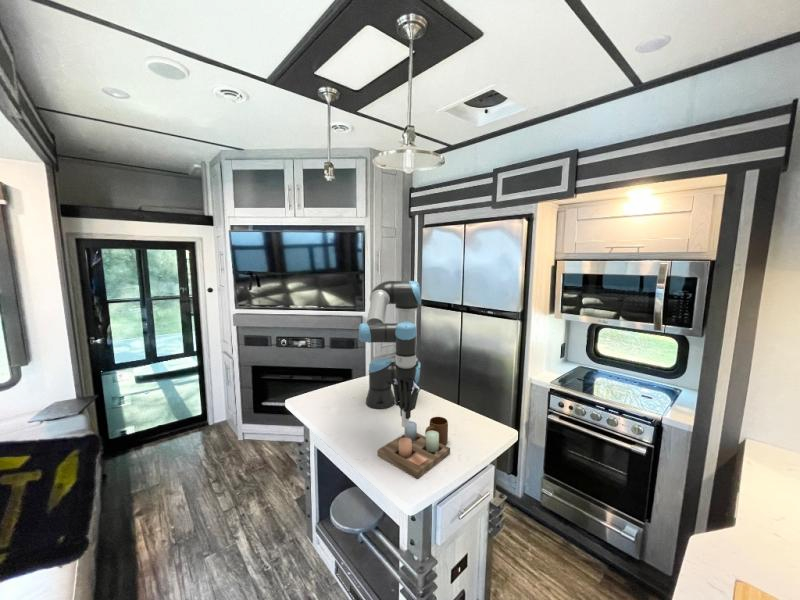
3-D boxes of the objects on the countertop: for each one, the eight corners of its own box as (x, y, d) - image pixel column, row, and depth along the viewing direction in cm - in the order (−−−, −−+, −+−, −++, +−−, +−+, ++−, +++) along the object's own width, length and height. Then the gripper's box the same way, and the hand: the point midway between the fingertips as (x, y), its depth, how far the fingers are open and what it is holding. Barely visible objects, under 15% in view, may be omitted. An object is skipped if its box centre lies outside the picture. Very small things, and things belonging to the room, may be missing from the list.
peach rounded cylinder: (404, 450, 128) (404, 436, 128) (414, 455, 125) (414, 440, 124) (396, 456, 125) (396, 441, 124) (405, 461, 121) (405, 446, 121)
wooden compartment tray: (410, 435, 141) (410, 428, 141) (450, 453, 128) (450, 446, 128) (377, 455, 127) (377, 448, 126) (417, 479, 113) (417, 470, 113)
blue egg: (409, 433, 138) (409, 420, 137) (419, 437, 135) (419, 424, 134) (401, 438, 134) (402, 424, 134) (411, 442, 131) (411, 428, 130)
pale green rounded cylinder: (430, 443, 131) (431, 429, 130) (441, 448, 127) (441, 433, 127) (423, 448, 127) (423, 434, 126) (433, 453, 124) (433, 438, 123)
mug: (433, 454, 128) (433, 431, 127) (418, 446, 133) (418, 424, 132) (451, 442, 136) (451, 420, 135) (436, 435, 142) (437, 414, 140)
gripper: (385, 363, 122) (386, 423, 125) (412, 372, 113) (412, 435, 117) (399, 359, 128) (399, 416, 131) (426, 366, 119) (425, 427, 122)
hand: (405, 425), depth 124 cm, fingers closed
